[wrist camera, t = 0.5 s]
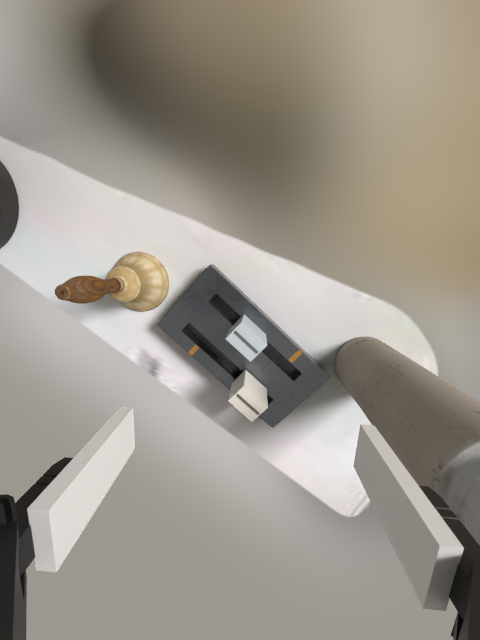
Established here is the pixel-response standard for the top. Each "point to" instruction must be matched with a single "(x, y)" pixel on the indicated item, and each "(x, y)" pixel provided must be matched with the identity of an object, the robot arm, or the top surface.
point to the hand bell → (122, 284)
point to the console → (225, 360)
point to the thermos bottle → (419, 422)
